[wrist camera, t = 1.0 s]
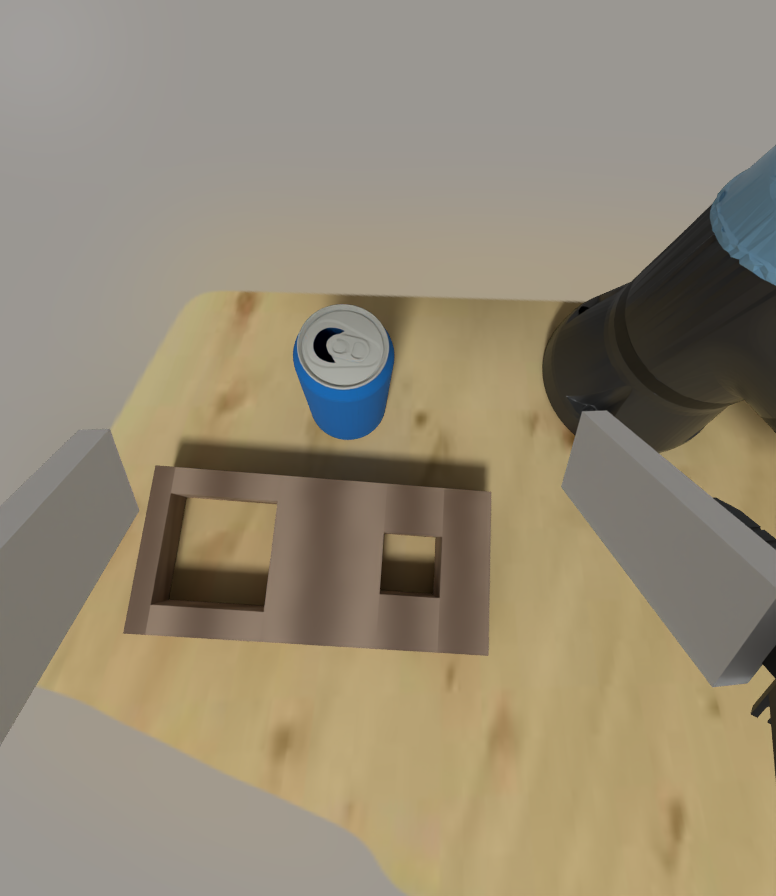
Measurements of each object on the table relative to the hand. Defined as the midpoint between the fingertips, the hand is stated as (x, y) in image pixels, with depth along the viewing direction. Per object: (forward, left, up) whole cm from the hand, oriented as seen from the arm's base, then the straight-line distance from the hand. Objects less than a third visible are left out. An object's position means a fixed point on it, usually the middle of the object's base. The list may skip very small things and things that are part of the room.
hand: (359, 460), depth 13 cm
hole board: (+3, +4, -24) cm, 25 cm away
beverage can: (+2, -9, -24) cm, 26 cm away
